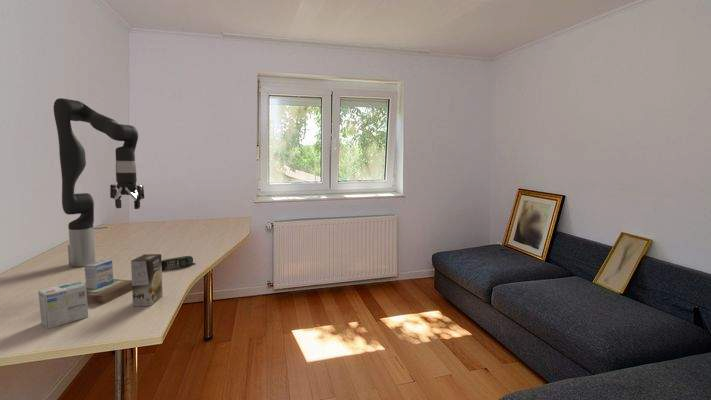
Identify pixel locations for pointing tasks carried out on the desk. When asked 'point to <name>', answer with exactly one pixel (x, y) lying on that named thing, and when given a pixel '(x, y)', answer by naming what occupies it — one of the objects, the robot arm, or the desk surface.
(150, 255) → the coffee box
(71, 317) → the light bulb box
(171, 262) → the dark remote control
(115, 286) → the walnut plinth
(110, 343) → the desk surface
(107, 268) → the medicine box
